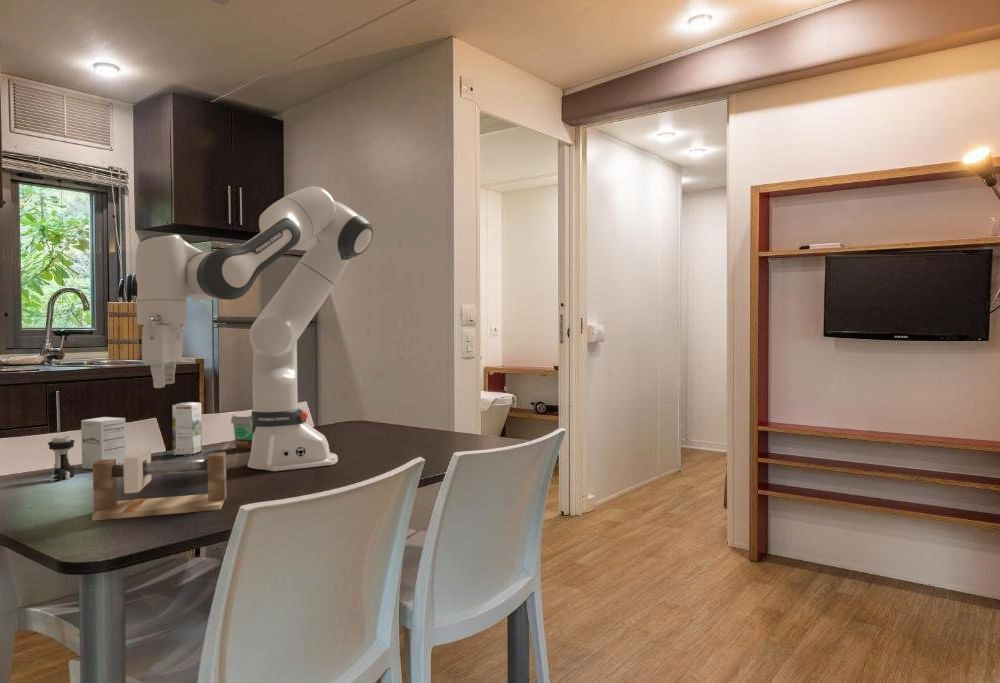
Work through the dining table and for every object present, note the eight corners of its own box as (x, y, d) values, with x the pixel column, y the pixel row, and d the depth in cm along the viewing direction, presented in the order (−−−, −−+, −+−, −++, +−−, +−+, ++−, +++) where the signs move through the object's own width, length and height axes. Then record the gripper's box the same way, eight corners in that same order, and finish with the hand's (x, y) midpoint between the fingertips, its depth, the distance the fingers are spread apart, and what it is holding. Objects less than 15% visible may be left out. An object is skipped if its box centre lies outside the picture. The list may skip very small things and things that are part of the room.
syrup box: (182, 452, 192) (181, 402, 191) (202, 451, 191) (201, 401, 191) (172, 456, 186) (171, 404, 186) (193, 455, 186) (191, 404, 185)
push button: (61, 482, 154) (60, 440, 154) (39, 483, 155) (38, 440, 154) (80, 476, 161) (79, 435, 161) (59, 476, 161) (58, 435, 161)
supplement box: (81, 469, 170) (79, 420, 170) (107, 463, 177) (106, 416, 176) (101, 470, 167) (100, 421, 167) (127, 465, 174) (126, 417, 174)
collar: (151, 479, 135) (150, 447, 135) (138, 492, 124) (137, 457, 124) (138, 480, 134) (137, 448, 134) (124, 493, 124) (123, 458, 124)
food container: (222, 451, 192) (221, 416, 192) (234, 447, 198) (233, 414, 198) (262, 451, 190) (261, 417, 190) (272, 448, 196) (272, 414, 196)
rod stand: (228, 497, 139) (227, 449, 138) (222, 509, 129) (221, 458, 129) (104, 507, 132) (103, 457, 132) (89, 520, 123) (87, 467, 122)
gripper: (169, 314, 121) (171, 389, 122) (188, 316, 141) (190, 381, 141) (131, 314, 120) (133, 391, 120) (155, 317, 139) (157, 382, 140)
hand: (164, 385), depth 131 cm, fingers open, 8 cm apart
